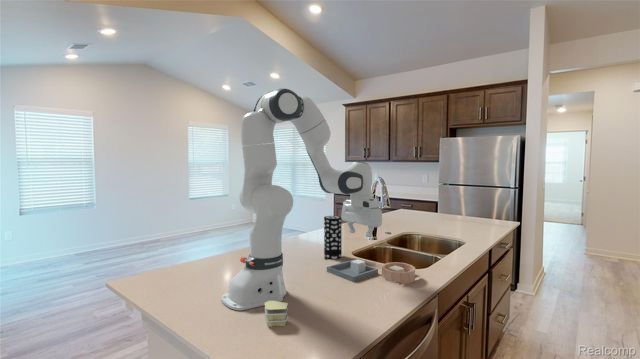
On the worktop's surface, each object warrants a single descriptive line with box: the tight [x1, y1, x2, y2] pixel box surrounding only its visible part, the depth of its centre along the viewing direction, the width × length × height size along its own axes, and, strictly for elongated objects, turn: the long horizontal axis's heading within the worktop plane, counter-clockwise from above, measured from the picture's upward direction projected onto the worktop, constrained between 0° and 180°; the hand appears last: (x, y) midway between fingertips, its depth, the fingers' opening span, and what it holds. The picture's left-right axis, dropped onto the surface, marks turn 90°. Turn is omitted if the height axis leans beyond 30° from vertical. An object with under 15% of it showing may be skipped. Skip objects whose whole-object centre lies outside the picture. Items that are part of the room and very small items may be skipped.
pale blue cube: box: [351, 259, 367, 273], centre depth 139 cm, size 4×4×4 cm
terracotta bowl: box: [381, 261, 416, 285], centre depth 132 cm, size 13×13×4 cm
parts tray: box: [326, 260, 379, 283], centre depth 137 cm, size 14×16×3 cm
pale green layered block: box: [264, 301, 289, 328], centre depth 97 cm, size 10×9×6 cm
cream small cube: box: [388, 266, 404, 272], centre depth 131 cm, size 4×4×4 cm
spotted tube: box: [323, 215, 343, 261], centre depth 159 cm, size 8×8×20 cm
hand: (360, 234), depth 137 cm, fingers open, 8 cm apart
